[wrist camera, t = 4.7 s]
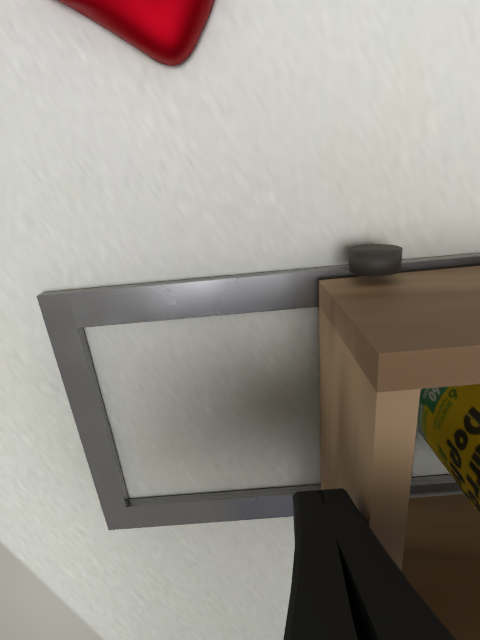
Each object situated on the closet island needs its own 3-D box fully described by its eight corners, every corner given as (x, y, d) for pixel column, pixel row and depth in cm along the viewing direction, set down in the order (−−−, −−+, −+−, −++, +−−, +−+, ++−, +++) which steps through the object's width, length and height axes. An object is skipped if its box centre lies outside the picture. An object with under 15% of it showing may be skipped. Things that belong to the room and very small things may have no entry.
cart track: (630, 482, 15) (640, 490, 15) (111, 521, 16) (108, 529, 15) (728, 230, 11) (745, 232, 11) (42, 292, 12) (36, 296, 12)
